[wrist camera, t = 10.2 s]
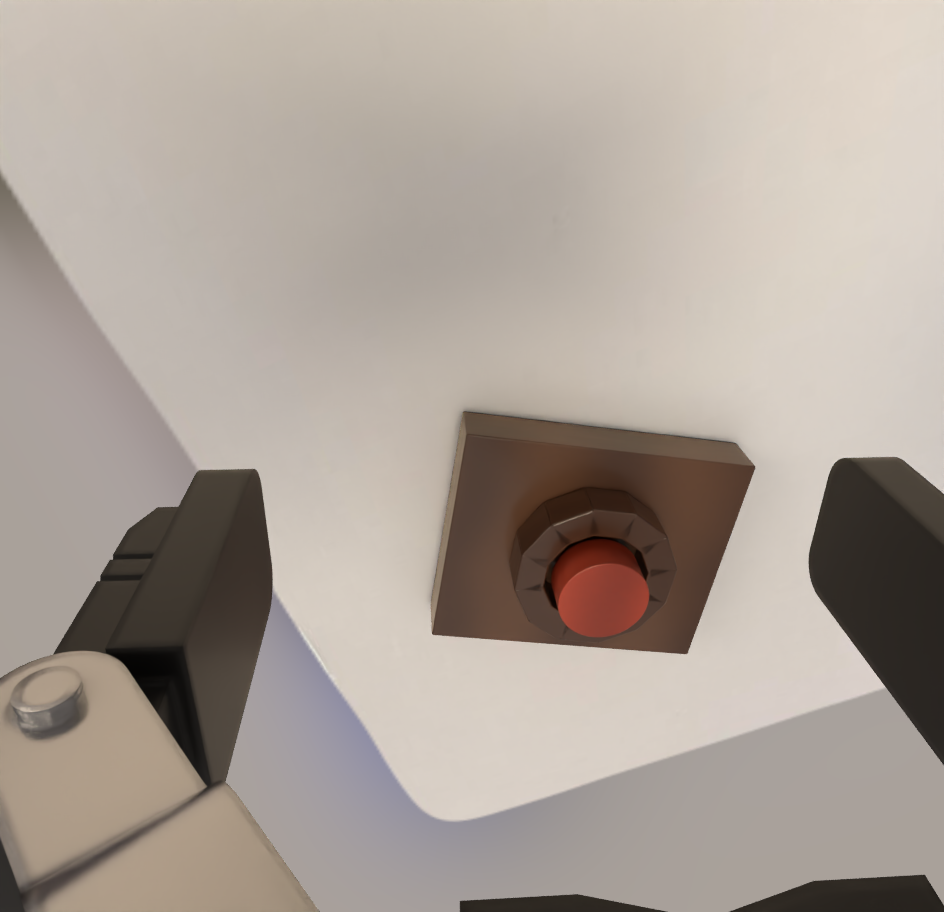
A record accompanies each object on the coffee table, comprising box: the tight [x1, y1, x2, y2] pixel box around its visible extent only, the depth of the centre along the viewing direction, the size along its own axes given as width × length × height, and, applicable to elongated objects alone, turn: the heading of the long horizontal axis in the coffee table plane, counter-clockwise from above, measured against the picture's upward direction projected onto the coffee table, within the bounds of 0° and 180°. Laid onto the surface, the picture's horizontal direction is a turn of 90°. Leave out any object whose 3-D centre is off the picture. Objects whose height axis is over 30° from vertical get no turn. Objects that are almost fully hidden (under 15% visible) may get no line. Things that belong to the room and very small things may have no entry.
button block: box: [431, 412, 755, 654], centre depth 33 cm, size 12×10×4 cm
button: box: [551, 539, 649, 637], centre depth 31 cm, size 4×4×2 cm
